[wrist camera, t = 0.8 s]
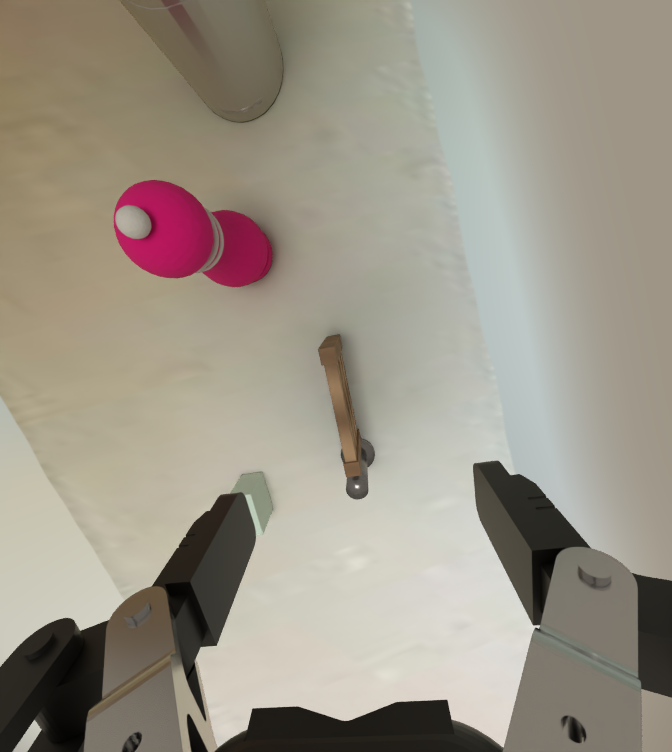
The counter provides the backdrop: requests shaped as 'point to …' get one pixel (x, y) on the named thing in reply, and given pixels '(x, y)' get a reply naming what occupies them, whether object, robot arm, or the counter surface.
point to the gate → (342, 404)
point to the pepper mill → (188, 236)
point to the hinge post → (359, 484)
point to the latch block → (256, 499)
